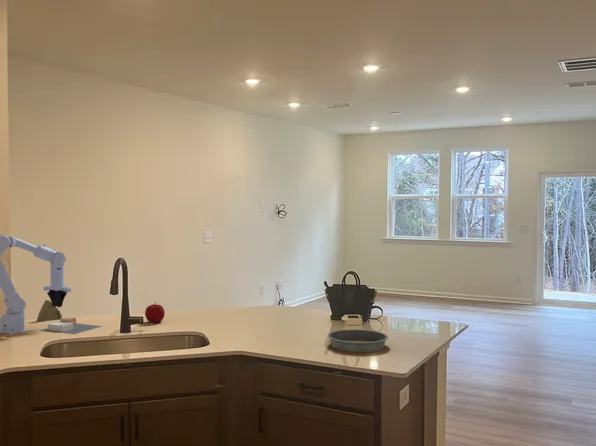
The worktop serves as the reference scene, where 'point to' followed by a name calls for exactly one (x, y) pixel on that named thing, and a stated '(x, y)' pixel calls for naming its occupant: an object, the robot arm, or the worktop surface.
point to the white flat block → (60, 326)
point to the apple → (154, 313)
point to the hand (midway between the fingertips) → (57, 306)
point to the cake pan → (356, 334)
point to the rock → (48, 312)
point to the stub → (69, 320)
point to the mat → (76, 329)
